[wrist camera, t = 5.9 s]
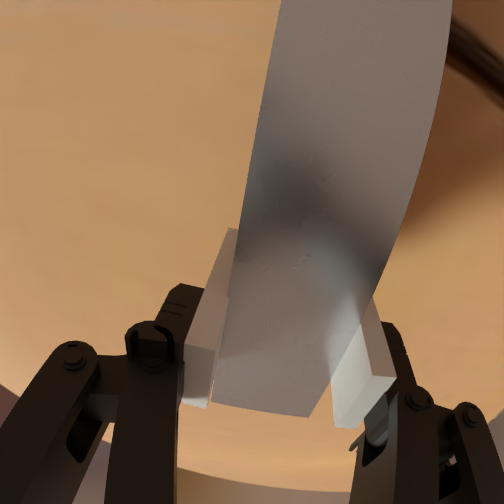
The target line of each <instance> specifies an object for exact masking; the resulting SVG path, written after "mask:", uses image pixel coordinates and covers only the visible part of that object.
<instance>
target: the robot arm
mask: <svg viewBox="0 0 504 504" xmlns="http://www.w3.org/2000/svg"><path fill="white" fill-rule="evenodd" d="M237 236H238V230H237V229H233V228H228V231H227V233H226V236H225V238H224V241H223V243H222V246H221V248H220V251H219V254H218V256H217V259H216V261H215V264H214V266H213V269H212V271H211V274H210V277H209V279H208V282H207V284H206V287H205V289H204V288H199V287H195V286H191V285H186V284H182V283H180V284H179V285H177V286H176V287H174V288H173V289H172V290H170V292H169V294H168V296H167V297H166V299H165V302H164V303H163V305H162V307H161V309H160V311H159V313H158V315H157V317H156V319H155V321H143V322H140V323H137V324H135V325H133V326H132V327H131V328H129V329H128V331H127V333H126V334H125V344H126V351H127V354H126V355H119V356H109V355H97V353H96V351H95V350H94V349H93V347H92V346H90V345H89V344H87V343H85V342H81V341H68V342H66V343H63V344H61V345H59V346H58V347H57V348H56V349H55V350H54V351H53V352H52V354H51V355H50V356H49V358H48V359H47V360H46V362H45V363H44V364H43V366H42V367H41V369H40V370H39V371H38V373H37V374H36V375H35V377H34V378H33V380H32V381H31V383H30V384H29V385H28V387H27V388H26V390H25V391H24V393H23V394H22V395H21V397H20V398H19V400H18V402H17V403H16V404H15V406H14V407H13V409H12V410H11V412H10V413H9V415H8V417H7V418H6V420H5V421H4V423H3V424H2V426H1V428H0V504H72V502H73V500H74V498H75V496H76V493H77V491H78V489H79V486H80V484H81V482H82V480H83V478H84V475H85V473H86V471H87V469H88V467H89V465H90V462H91V460H92V458H93V456H94V454H95V452H96V450H97V447H98V445H99V443H100V441H101V439H102V437H103V435H104V433H105V431H106V429H107V427H108V425H109V423H110V422H111V423H115V425H114V431H113V437H112V443H111V450H110V458H109V464H108V472H107V481H106V489H105V500H104V504H177V440H178V409H179V405H180V402H181V399H182V403H185V404H189V405H193V406H197V407H202V408H206V409H207V405H208V401H209V397H210V393H211V388H212V384H213V380H214V376H215V372H216V368H217V364H218V360H219V354H220V348H221V342H222V336H223V331H224V325H225V319H226V313H227V308H228V302H229V297H227V296H228V290H229V283H230V277H231V271H232V265H233V259H234V253H235V247H236V242H237ZM403 344H404V343H403V340H402V338H401V335H400V333H399V331H398V330H397V329H396V328H395V326H394V325H393V324H392V323H388V322H382V321H380V318H379V315H378V312H377V309H376V306H375V303H374V300H373V297H372V298H371V300H370V303H369V305H368V307H367V309H366V311H365V313H364V316H363V318H362V320H361V322H360V324H359V326H358V328H357V330H356V332H355V334H354V336H353V338H352V340H351V342H350V344H349V346H348V348H347V350H346V352H345V354H344V356H343V358H342V359H341V361H340V363H339V365H338V367H337V369H336V370H335V372H334V374H333V376H332V378H331V389H332V401H333V415H334V427H337V428H354V429H356V428H357V427H358V426H359V425H360V423H361V422H362V421H363V420H364V424H365V431H364V432H363V433H362V434H361V435H360V436H359V437H358V438H357V439H356V440H355V441H354V443H353V444H352V445H351V446H350V449H349V451H353V450H354V449H355V448H356V447H357V446H358V449H357V451H356V452H357V457H356V464H355V471H354V477H353V483H352V489H351V495H350V501H349V504H504V472H503V469H502V465H501V462H500V459H499V456H498V453H497V450H496V447H495V444H494V441H493V439H492V436H491V433H490V430H489V428H488V425H487V423H486V420H485V418H484V415H483V414H482V412H481V410H480V409H479V408H478V407H477V406H476V405H474V404H472V403H470V402H462V403H459V405H458V406H457V407H456V408H455V409H454V410H451V409H447V408H444V407H441V406H438V405H436V404H434V401H433V398H432V397H431V395H430V394H429V392H428V391H426V390H425V389H424V388H422V387H420V386H418V385H417V383H416V380H415V377H414V374H413V370H412V367H411V364H410V361H409V358H408V355H406V353H407V352H406V349H405V346H403ZM454 455H455V458H456V461H457V462H456V463H455V464H454V465H452V464H451V463H450V461H449V459H450V458H452V457H453V456H454Z"/></svg>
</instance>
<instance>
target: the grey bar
mask: <svg viewBox="0 0 504 504" xmlns="http://www.w3.org/2000/svg"><path fill="white" fill-rule="evenodd" d="M452 1H453V0H282V1H281V6H280V11H279V15H278V20H277V25H276V30H275V35H274V40H273V45H272V50H271V55H270V60H269V66H268V71H267V76H266V81H265V86H264V92H263V97H262V102H261V107H260V113H259V118H258V123H257V129H256V134H255V140H254V145H253V151H252V156H251V162H250V167H249V173H248V178H247V184H246V190H245V195H244V201H243V207H242V212H241V218H240V224H239V230H238V236H237V242H236V247H235V253H234V259H233V265H232V271H231V277H230V283H229V290H228V296H227V297H229V302H228V308H227V313H226V319H225V325H224V331H223V336H222V342H221V348H220V354H219V360H218V364H217V368H216V372H215V378H214V385H213V392H212V398H211V402H215V403H220V404H224V405H229V406H235V407H240V408H245V409H251V410H257V411H263V412H269V413H276V414H283V415H291V416H299V417H307V418H309V416H310V414H311V413H312V411H313V409H314V408H315V406H316V404H317V403H318V401H319V399H320V398H321V396H322V394H323V392H324V391H325V389H326V387H327V385H328V384H329V382H330V380H331V378H332V376H333V374H334V372H335V370H336V369H337V367H338V365H339V363H340V361H341V359H342V358H343V356H344V354H345V352H346V350H347V348H348V346H349V344H350V342H351V340H352V338H353V336H354V334H355V332H356V330H357V328H358V326H359V324H360V322H361V320H362V318H363V316H364V313H365V311H366V309H367V307H368V305H369V303H370V300H371V298H372V296H373V294H374V291H375V289H376V287H377V285H378V282H379V280H380V278H381V275H382V273H383V270H384V268H385V266H386V263H387V261H388V258H389V256H390V253H391V251H392V248H393V246H394V243H395V240H396V238H397V235H398V232H399V230H400V227H401V224H402V221H403V219H404V216H405V213H406V210H407V207H408V204H409V201H410V198H411V195H412V192H413V189H414V186H415V183H416V180H417V176H418V173H419V170H420V167H421V163H422V160H423V156H424V153H425V149H426V145H427V142H428V138H429V134H430V130H431V126H432V122H433V118H434V114H435V109H436V105H437V100H438V96H439V91H440V86H441V81H442V76H443V70H444V64H445V58H446V52H447V45H448V38H449V30H450V22H451V12H452Z"/></svg>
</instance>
